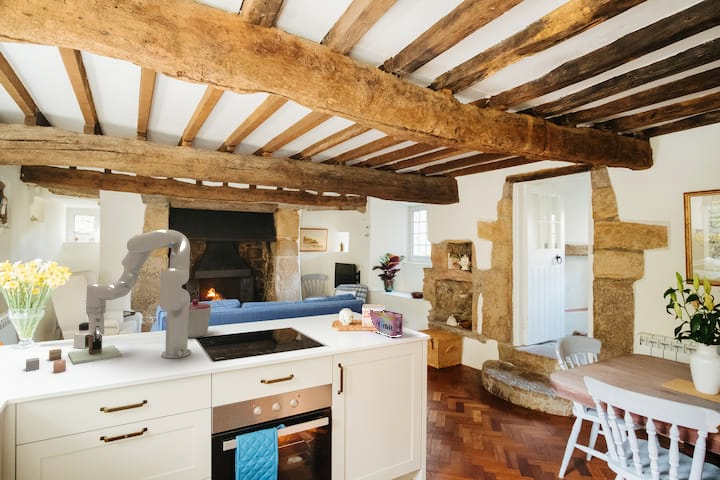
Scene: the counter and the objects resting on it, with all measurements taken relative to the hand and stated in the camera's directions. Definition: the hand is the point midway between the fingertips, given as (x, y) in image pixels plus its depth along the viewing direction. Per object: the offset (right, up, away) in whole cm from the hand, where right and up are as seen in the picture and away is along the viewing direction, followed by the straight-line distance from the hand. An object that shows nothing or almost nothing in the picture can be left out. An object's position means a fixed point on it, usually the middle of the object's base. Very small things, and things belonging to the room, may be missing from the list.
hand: (95, 347), depth 172 cm
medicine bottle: (-15, -4, +14) cm, 20 cm away
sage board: (0, -4, 0) cm, 4 cm away
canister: (+29, -5, +39) cm, 49 cm away
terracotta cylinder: (0, -4, -20) cm, 21 cm away
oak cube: (-14, -4, -6) cm, 15 cm away
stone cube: (-13, -4, -19) cm, 23 cm away
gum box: (+139, -7, +53) cm, 149 cm away
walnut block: (0, -3, 0) cm, 3 cm away
